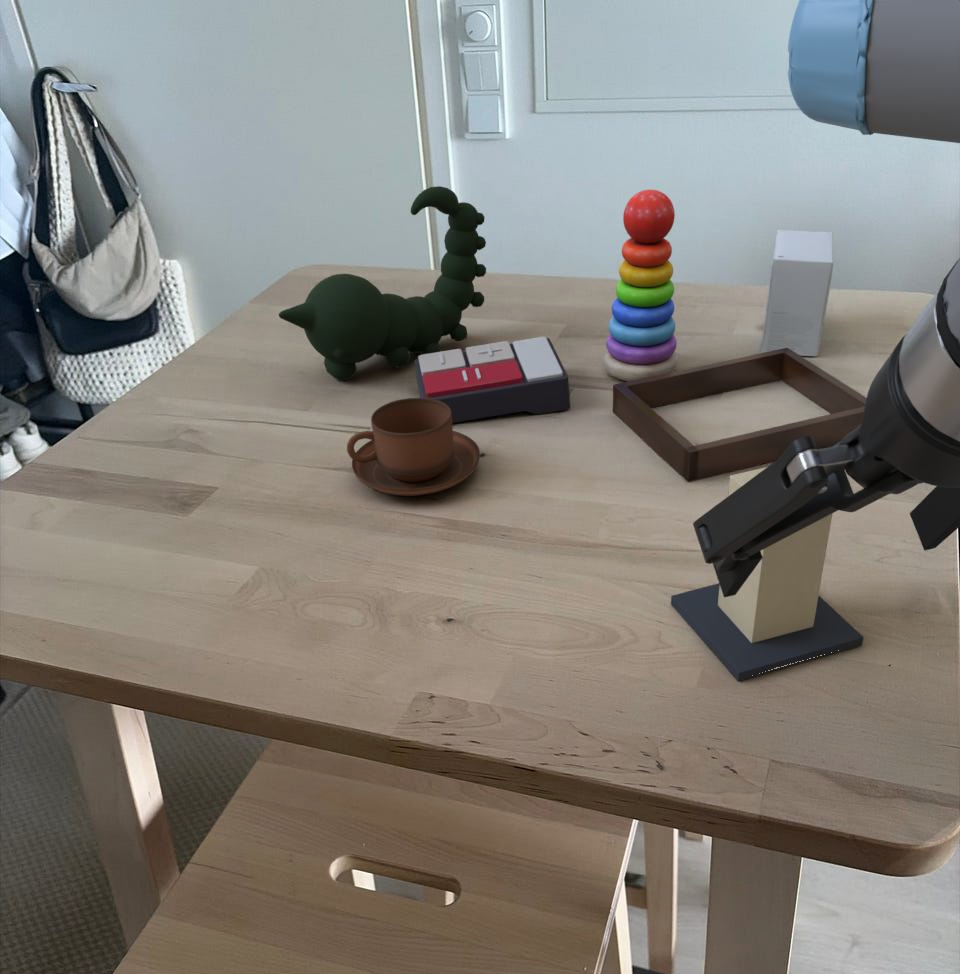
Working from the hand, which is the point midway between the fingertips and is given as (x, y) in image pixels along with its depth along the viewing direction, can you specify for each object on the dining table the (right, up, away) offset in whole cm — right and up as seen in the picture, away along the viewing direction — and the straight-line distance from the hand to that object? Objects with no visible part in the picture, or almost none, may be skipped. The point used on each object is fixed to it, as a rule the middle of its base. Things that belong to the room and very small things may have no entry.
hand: (823, 553), depth 67 cm
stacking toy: (-5, +24, +46) cm, 52 cm away
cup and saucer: (-28, +10, +31) cm, 43 cm away
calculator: (-21, +20, +43) cm, 52 cm away
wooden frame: (+3, +16, +35) cm, 38 cm away
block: (-1, -4, +9) cm, 10 cm away
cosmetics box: (+13, +29, +51) cm, 60 cm away
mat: (-1, -4, +10) cm, 11 cm away
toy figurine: (-32, +26, +52) cm, 67 cm away
